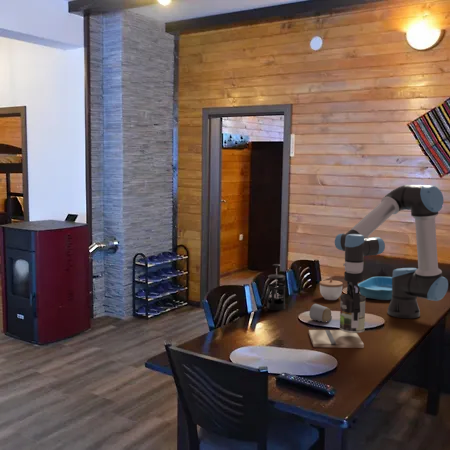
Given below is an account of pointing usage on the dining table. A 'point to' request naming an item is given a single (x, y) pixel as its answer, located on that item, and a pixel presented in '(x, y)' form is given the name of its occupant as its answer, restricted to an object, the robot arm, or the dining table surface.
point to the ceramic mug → (320, 313)
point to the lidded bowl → (331, 289)
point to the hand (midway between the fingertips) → (352, 324)
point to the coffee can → (347, 315)
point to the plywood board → (335, 339)
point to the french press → (280, 296)
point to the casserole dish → (377, 288)
